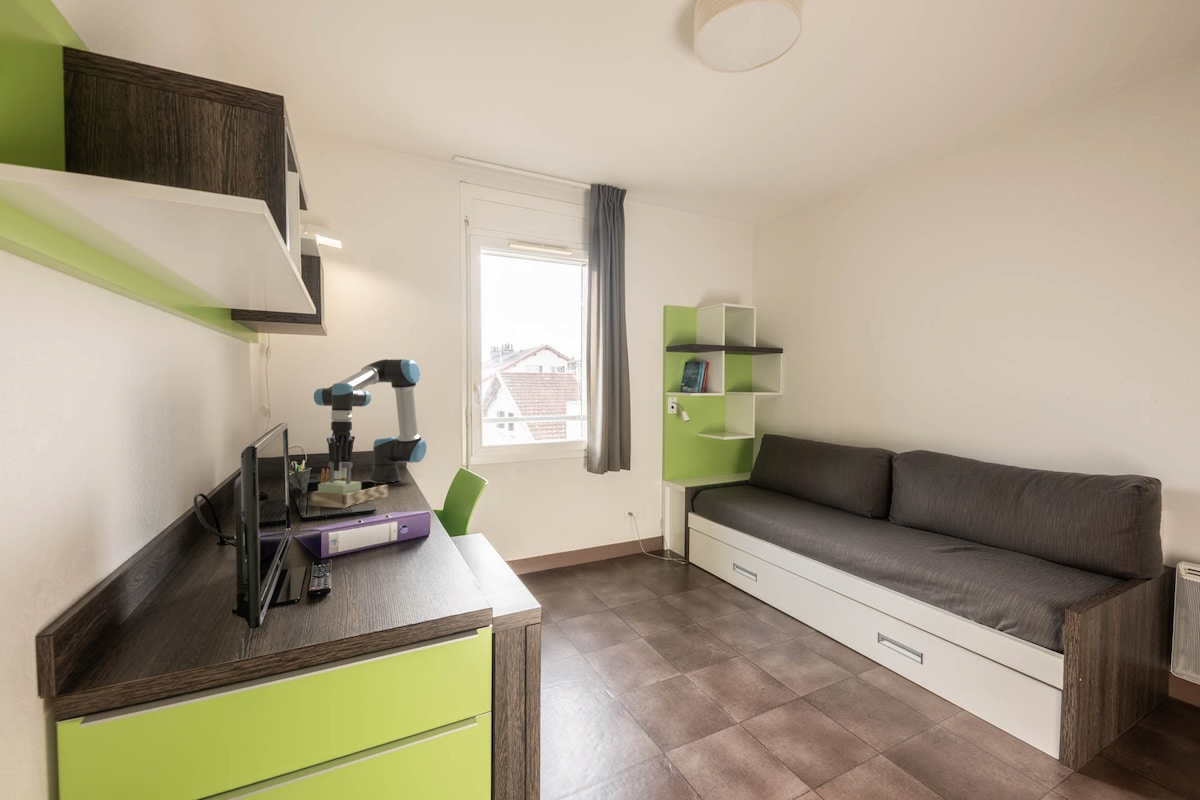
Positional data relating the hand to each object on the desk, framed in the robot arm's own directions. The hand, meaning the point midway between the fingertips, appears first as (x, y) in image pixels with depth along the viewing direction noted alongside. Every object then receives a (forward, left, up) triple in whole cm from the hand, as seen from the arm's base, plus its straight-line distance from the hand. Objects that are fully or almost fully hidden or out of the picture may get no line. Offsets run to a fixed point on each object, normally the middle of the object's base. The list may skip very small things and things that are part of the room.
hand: (340, 478), depth 202 cm
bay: (-6, 0, -10) cm, 12 cm away
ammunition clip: (-15, -17, -11) cm, 25 cm away
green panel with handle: (0, 0, -9) cm, 9 cm away
